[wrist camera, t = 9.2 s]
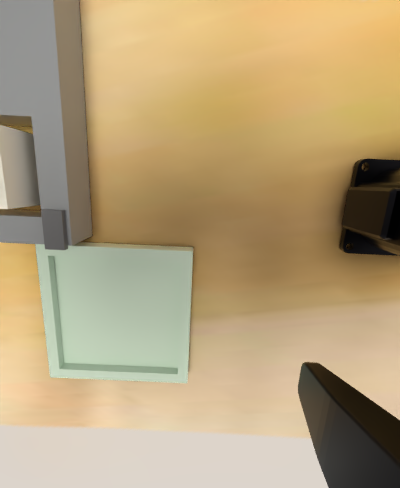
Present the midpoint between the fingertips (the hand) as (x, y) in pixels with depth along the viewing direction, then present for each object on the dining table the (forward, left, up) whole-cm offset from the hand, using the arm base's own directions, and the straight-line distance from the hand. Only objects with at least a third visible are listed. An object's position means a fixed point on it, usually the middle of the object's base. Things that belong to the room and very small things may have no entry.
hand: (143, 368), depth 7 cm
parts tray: (+4, +5, -12) cm, 14 cm away
